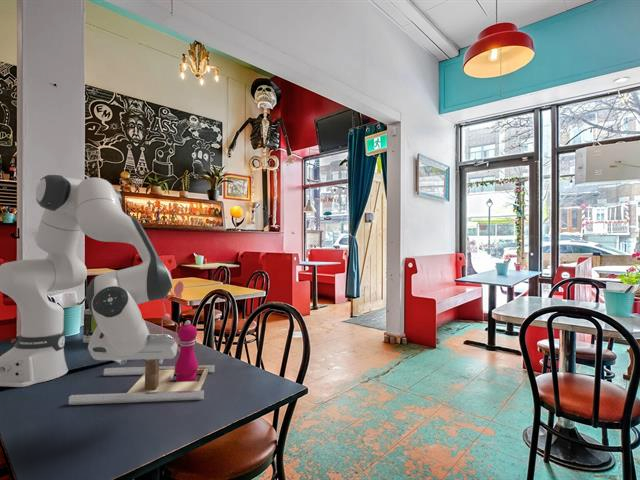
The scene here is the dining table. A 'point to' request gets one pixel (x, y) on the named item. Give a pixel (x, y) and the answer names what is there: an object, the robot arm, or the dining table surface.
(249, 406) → the dining table surface
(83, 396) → the runner track
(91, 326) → the tea box
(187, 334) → the pepper mill
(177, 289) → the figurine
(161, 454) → the dining table surface
